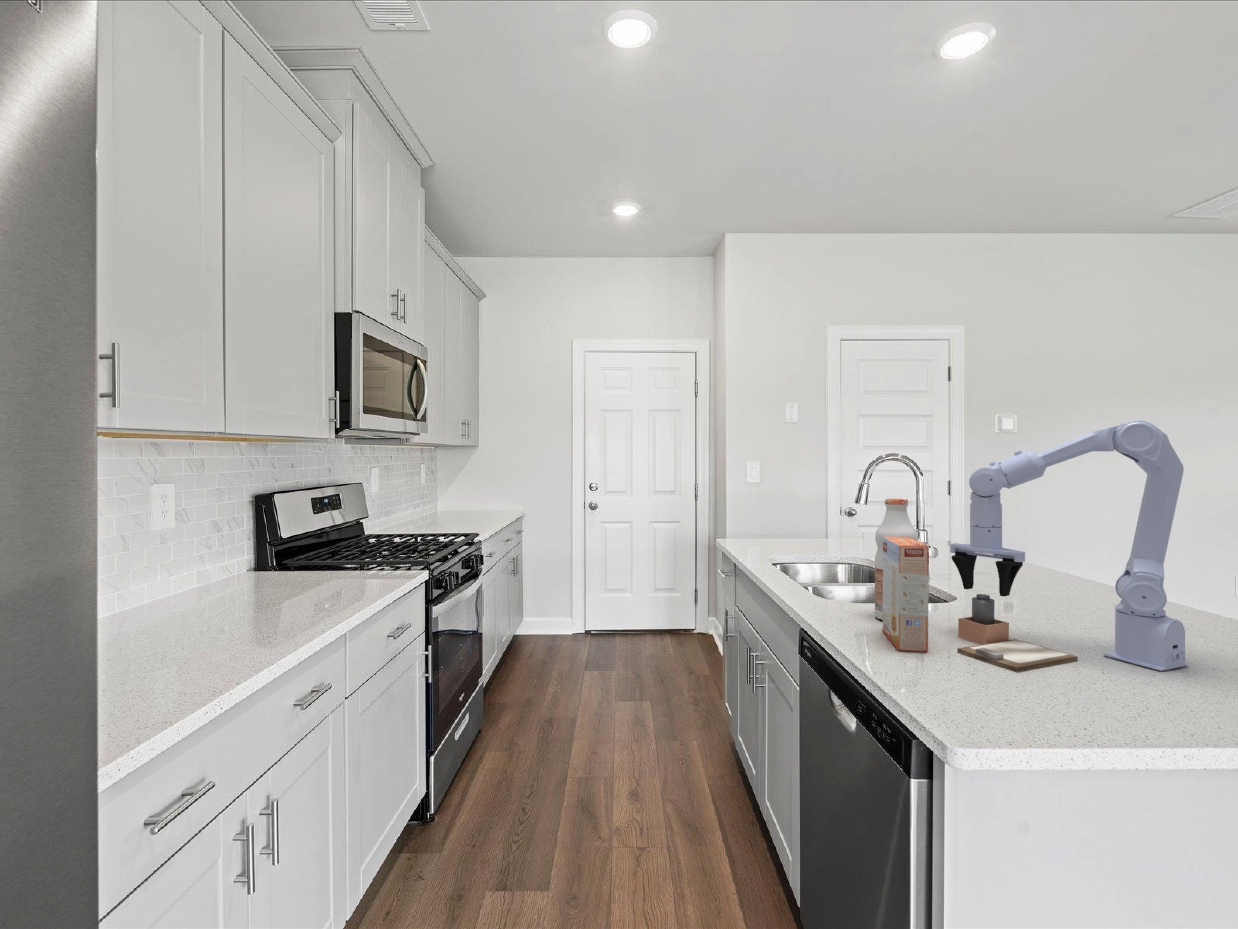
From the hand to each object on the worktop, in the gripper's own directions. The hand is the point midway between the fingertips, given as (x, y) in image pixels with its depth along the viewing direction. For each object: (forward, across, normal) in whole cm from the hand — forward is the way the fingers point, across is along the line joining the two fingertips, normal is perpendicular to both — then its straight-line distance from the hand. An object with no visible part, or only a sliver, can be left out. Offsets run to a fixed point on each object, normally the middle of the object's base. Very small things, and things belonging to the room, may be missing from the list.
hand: (986, 592), depth 128 cm
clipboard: (+10, -9, +6) cm, 15 cm away
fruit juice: (+10, +20, +3) cm, 22 cm away
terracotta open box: (+10, 0, +1) cm, 10 cm away
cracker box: (+10, +7, +16) cm, 20 cm away
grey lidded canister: (+9, 0, +1) cm, 9 cm away
